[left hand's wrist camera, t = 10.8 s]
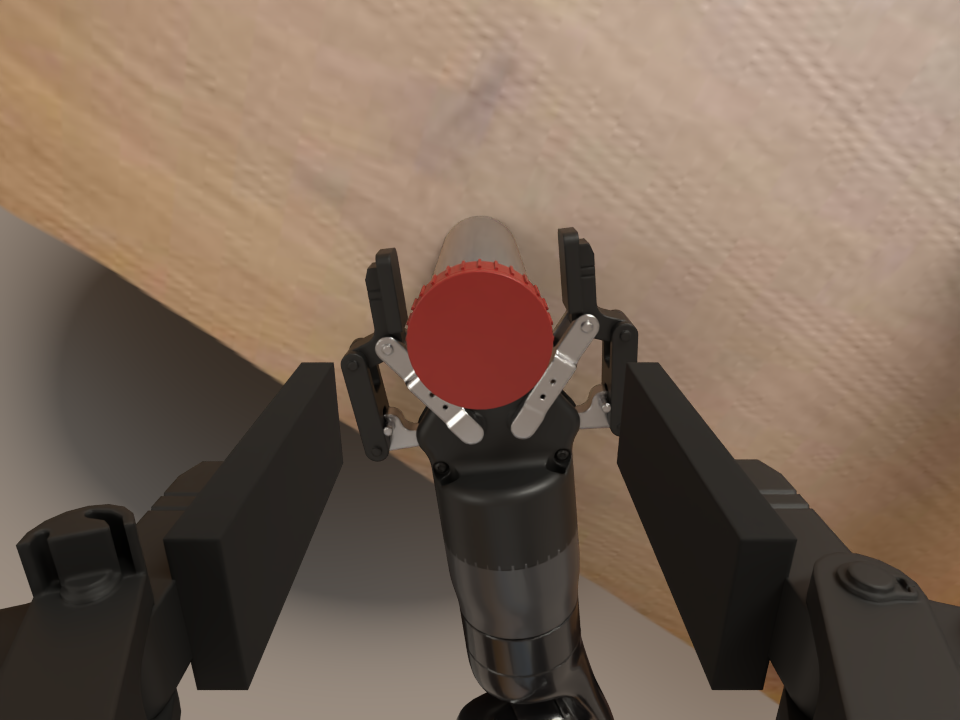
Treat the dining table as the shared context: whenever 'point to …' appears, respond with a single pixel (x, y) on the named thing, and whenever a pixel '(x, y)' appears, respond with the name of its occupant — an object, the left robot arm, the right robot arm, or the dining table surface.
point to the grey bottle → (479, 245)
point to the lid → (479, 335)
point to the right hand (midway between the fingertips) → (475, 240)
